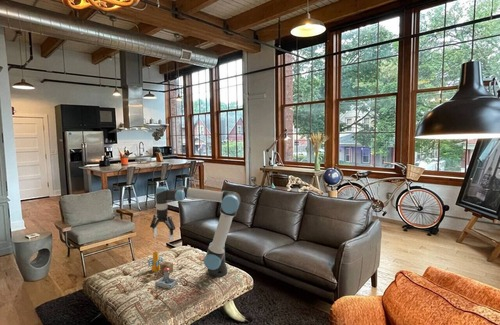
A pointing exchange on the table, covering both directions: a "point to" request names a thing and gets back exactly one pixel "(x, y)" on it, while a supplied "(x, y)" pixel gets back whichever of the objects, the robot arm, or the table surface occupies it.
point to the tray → (162, 284)
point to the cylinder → (155, 261)
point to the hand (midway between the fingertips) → (163, 238)
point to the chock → (166, 264)
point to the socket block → (148, 277)
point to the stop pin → (166, 275)
